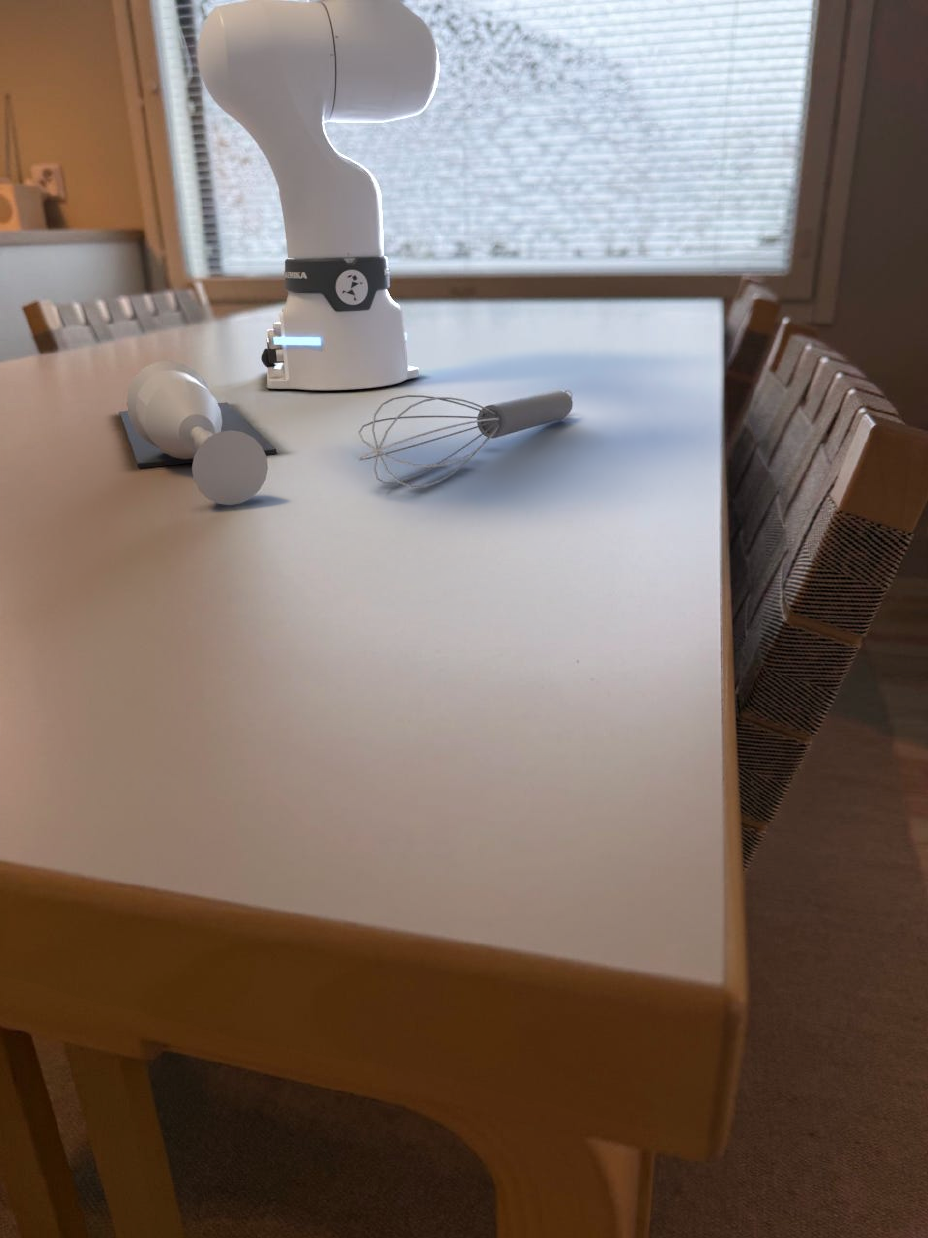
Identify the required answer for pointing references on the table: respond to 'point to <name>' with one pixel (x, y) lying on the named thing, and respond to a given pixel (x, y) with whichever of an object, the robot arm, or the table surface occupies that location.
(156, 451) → the mat
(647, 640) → the table surface
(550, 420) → the kitchen whisk
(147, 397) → the chalice
